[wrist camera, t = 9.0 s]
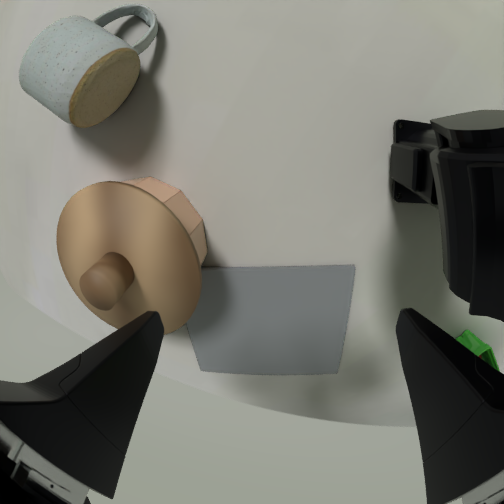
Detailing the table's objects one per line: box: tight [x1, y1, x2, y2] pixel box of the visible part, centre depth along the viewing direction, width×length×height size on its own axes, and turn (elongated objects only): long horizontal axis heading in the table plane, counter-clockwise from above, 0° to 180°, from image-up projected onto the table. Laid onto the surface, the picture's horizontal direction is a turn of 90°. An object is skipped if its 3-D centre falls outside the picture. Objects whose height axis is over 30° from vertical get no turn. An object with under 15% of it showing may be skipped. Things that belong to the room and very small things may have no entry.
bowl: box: [122, 177, 208, 266], centre depth 21 cm, size 11×11×5 cm
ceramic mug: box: [19, 4, 158, 128], centre depth 13 cm, size 11×8×8 cm
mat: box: [186, 265, 355, 375], centre depth 26 cm, size 16×14×1 cm
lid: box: [57, 181, 202, 335], centre depth 17 cm, size 13×13×4 cm
